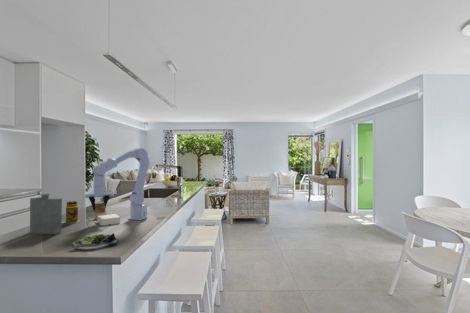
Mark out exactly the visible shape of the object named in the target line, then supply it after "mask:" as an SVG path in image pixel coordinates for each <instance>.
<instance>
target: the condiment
mask: <svg viewBox="0 0 470 313" xmlns="http://www.w3.org/2000/svg"><path fill="white" fill-rule="evenodd" d="M65 208H66V209H65V220H64V221H62V224H76V223H78V222H81V221H82V220H79V206H78V201H76V200H73V201H72V200H70V201H67V202H66V207H65Z"/></svg>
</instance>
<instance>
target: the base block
mask: <svg viewBox="0 0 470 313" xmlns="http://www.w3.org/2000/svg"><path fill="white" fill-rule="evenodd" d="M97 223H98V224H99V225H100V226H101V225H103V226H109V224H111V225H117V224H121V217H120V216H119V215H118V214H117V213H112V214H106V215H102V216H98V219H97Z"/></svg>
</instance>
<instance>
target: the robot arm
mask: <svg viewBox="0 0 470 313" xmlns="http://www.w3.org/2000/svg"><path fill="white" fill-rule="evenodd" d="M148 154H149V153H148V151H147V150H146V149H145V148H143V147H140V148H139V147H138V148H137V147H136V148H133V149H130V150H128V151H126V152H124V153H123V154H121V155H119V156H118V157H116V158H107V160H104V162H100V163H99V164H96V165H95V166H94V167H93V168H92V173H93V192H92V193H87V194H86V193H85V194H84V198H85V199H89V202H90V203H91V206H92V210H93V211H94V210H95V203H96V199H95V198H102V199H103V201H102V202H103V203H105V209H106V210H107V204H108V202H109V199H110V197H113V196H114V192H113V191H111V192H109V191H107V192H105V190H106V187H105V182H106V181H105V180H106V179H105V174H106V173H108V172H109V171H111V170H113V169H115V168H117V167H118V164H120V163H121V162H122V163H123V161H125V160H128V159H130V158H134V159H135V160H137V161H138V163H139V168H138V171H137V172H138V173H137V177H136V180H135V185H134V188H133V190H132V191H131V194H130V195H129V197H128V198H129V201H130V210H129V212H130V217H128V218H127V220H131V221H132V220H133V221H134V220H135V221H142V220H145V219H147V218H148V207H147V205H146V204H144V202H145V192H144V187H145V183H146V178H147V175H148V170H149V166H150V159H149V155H148Z"/></svg>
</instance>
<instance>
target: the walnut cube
mask: <svg viewBox="0 0 470 313" xmlns="http://www.w3.org/2000/svg"><path fill="white" fill-rule="evenodd" d="M101 212H105V203H104V201H102V202H101V201H100V202H95V210H93V213H94V214H95V213H101Z"/></svg>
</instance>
